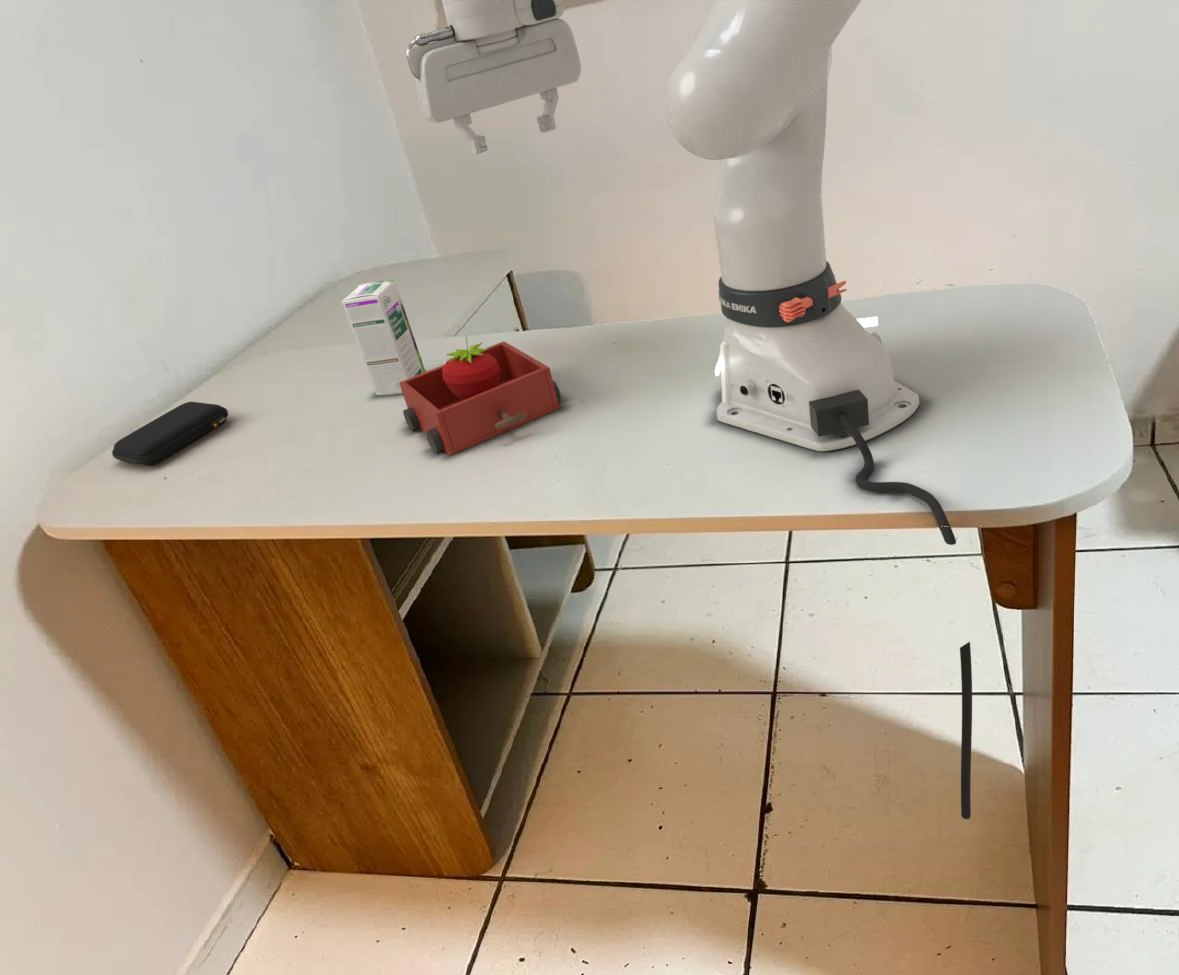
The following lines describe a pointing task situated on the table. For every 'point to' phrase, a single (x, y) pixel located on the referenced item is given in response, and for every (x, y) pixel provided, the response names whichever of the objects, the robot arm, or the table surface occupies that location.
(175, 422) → the carrying case
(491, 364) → the strawberry
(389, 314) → the syrup box
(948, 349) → the table surface
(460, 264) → the table surface
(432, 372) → the toy wagon
